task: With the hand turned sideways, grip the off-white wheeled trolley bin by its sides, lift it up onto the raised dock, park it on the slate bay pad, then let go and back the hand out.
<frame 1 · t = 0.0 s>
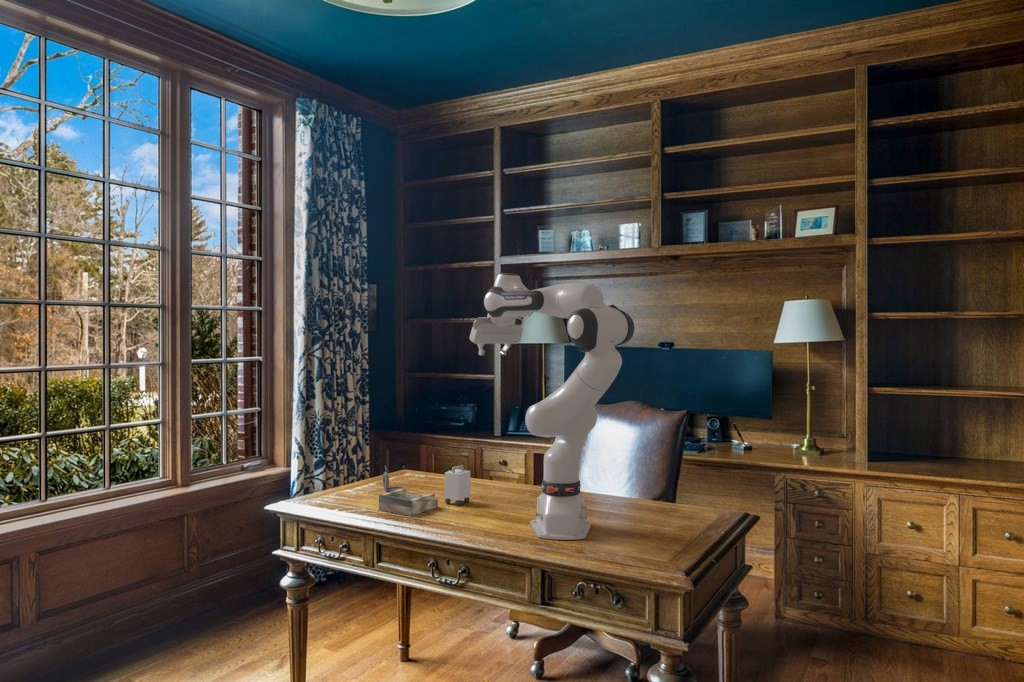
hand: (492, 354, 242), 52 cm above the table, tool tilted 20°, fingers open, 8 cm apart
dock: (408, 508, 231), on the table
trolley: (457, 502, 240), on the table
pocket watch: (392, 492, 256), on the table
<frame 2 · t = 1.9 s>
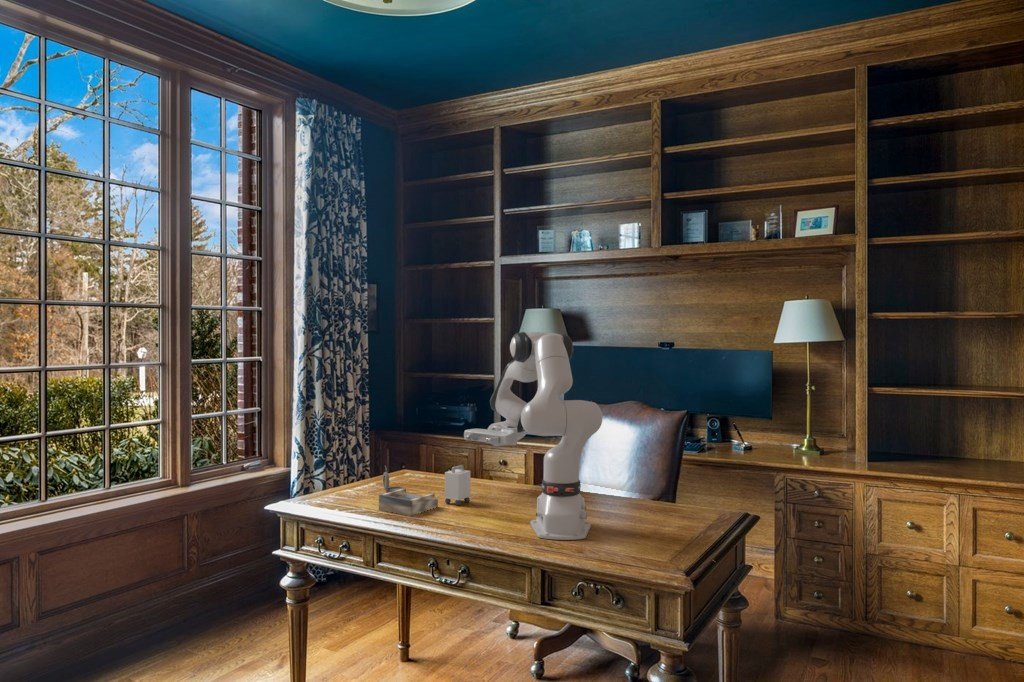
hand: (477, 439, 250), 21 cm above the table, tool horizontal, fingers open, 8 cm apart
nothing on the table moved.
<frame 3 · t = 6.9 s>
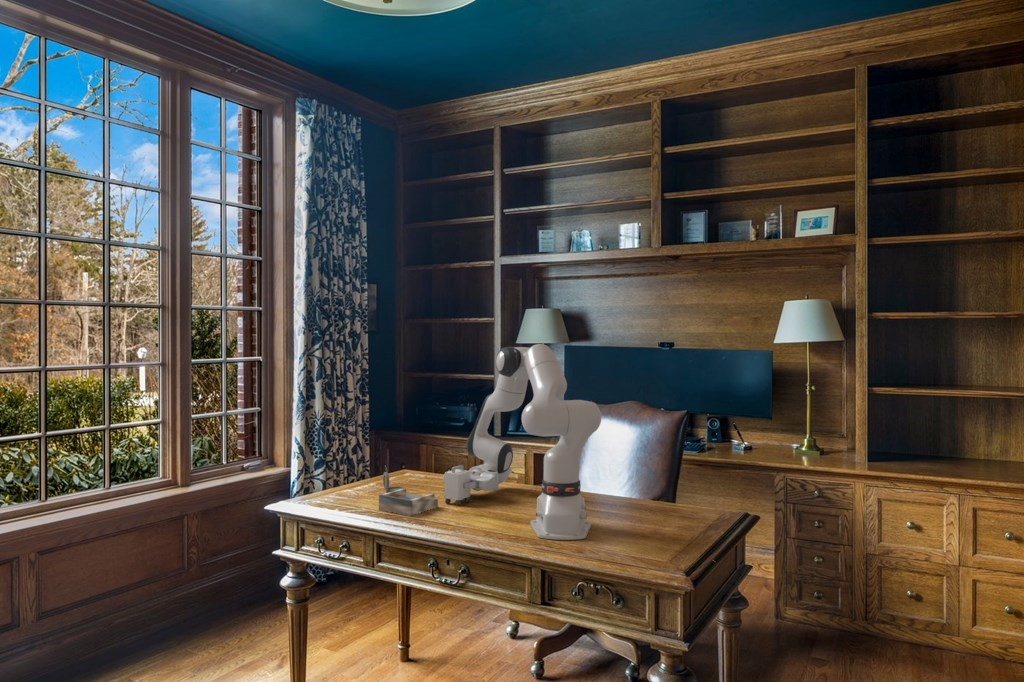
hand: (456, 484, 239), 7 cm above the table, tool horizontal, fingers closed on trolley, 6 cm apart
trolley: (457, 502, 240), on the table, touching gripper
everything else where it was.
when the fingers open (11 cm above the table, at t = 12.5 s): trolley drops 1 cm, resting on dock.
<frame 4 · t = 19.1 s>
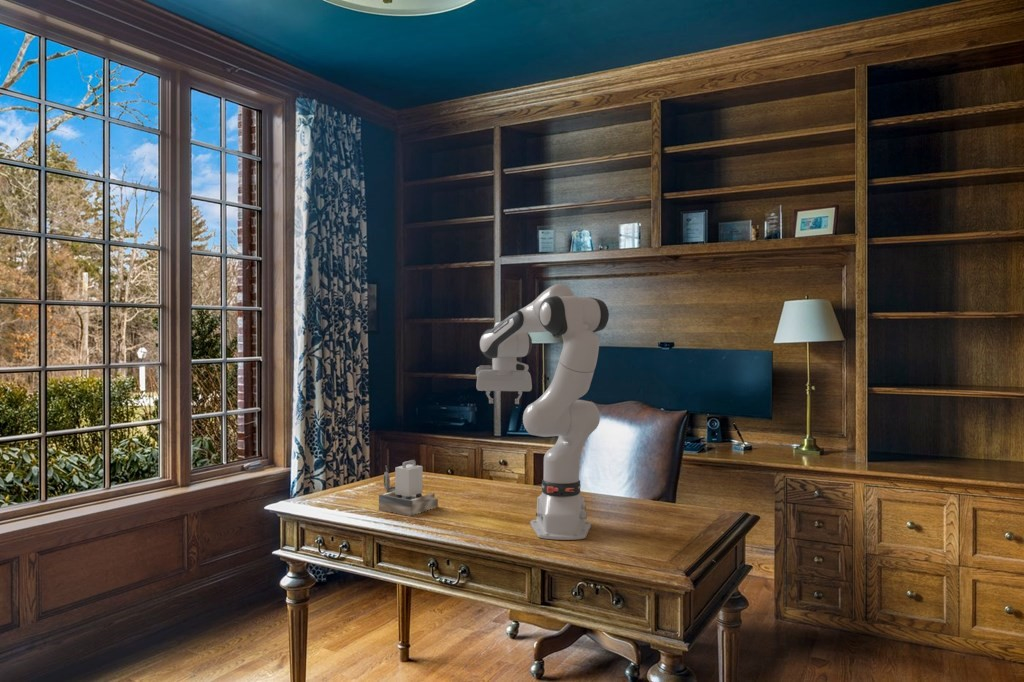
hand: (504, 403, 248), 34 cm above the table, tool pointing down, fingers open, 8 cm apart
trolley: (408, 499, 231), point 3 cm above the table, touching dock
everything else where it was.
at the end: trolley 0.1 cm off-centre on the dock, point 3.2 cm above the dock's base; trolley tilted 0°; the gripper is holding nothing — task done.
